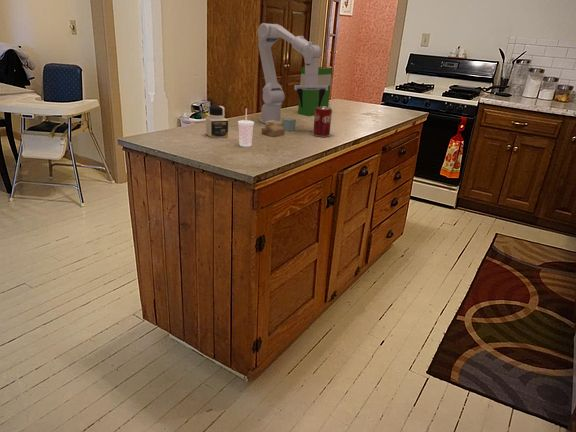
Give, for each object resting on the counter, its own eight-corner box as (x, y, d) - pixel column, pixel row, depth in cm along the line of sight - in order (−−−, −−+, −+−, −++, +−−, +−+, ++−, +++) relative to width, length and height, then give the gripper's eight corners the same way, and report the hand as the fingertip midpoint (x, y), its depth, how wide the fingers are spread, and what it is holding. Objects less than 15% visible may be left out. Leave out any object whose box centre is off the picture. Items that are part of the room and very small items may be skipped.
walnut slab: (261, 135, 188) (261, 128, 187) (272, 133, 193) (272, 126, 192) (273, 138, 184) (273, 131, 183) (284, 136, 189) (284, 129, 188)
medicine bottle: (211, 138, 176) (211, 107, 171) (206, 134, 182) (205, 104, 177) (228, 137, 179) (228, 107, 174) (222, 133, 185) (222, 104, 180)
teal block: (282, 129, 199) (283, 118, 197) (289, 129, 201) (290, 118, 199) (288, 131, 196) (288, 120, 194) (295, 130, 198) (295, 119, 196)
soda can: (331, 134, 195) (333, 107, 190) (327, 138, 189) (329, 110, 184) (315, 132, 197) (317, 105, 192) (310, 135, 191) (313, 108, 186)
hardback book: (317, 111, 250) (320, 67, 241) (327, 113, 246) (332, 68, 237) (298, 114, 238) (301, 67, 228) (308, 116, 233) (312, 69, 224)
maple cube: (265, 128, 187) (265, 121, 186) (272, 126, 191) (273, 120, 190) (274, 130, 184) (274, 123, 183) (281, 129, 188) (282, 122, 187)
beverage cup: (240, 147, 165) (241, 109, 160) (235, 143, 170) (236, 106, 165) (255, 146, 168) (256, 109, 162) (250, 142, 173) (251, 106, 167)
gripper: (294, 75, 185) (294, 108, 190) (329, 75, 185) (327, 108, 190) (294, 74, 191) (293, 106, 196) (327, 74, 192) (326, 106, 196)
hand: (310, 107), depth 194 cm, fingers open, 7 cm apart
